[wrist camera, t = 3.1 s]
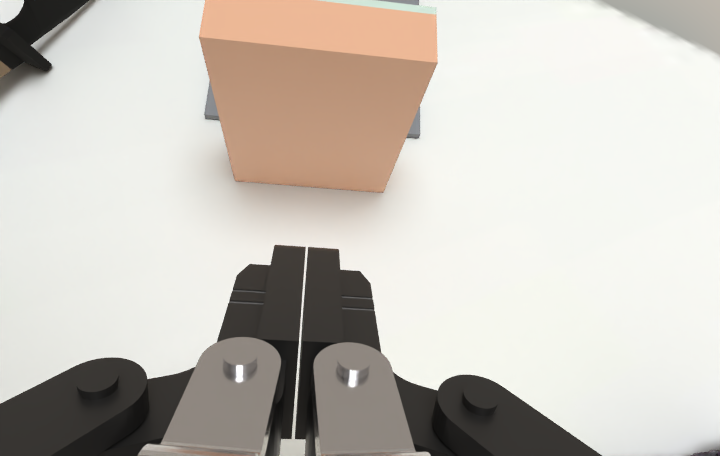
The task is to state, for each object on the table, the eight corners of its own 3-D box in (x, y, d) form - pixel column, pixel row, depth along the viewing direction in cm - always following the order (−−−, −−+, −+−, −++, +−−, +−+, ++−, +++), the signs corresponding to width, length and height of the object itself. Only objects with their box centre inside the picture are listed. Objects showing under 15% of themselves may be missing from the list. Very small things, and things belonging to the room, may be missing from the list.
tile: (235, 181, 34) (199, 36, 21) (240, 141, 35) (208, -21, 22) (383, 192, 35) (437, 62, 22) (383, 153, 36) (435, 7, 23)
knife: (-121, 199, 29) (-180, 158, 25) (-161, 171, 30) (-225, 126, 26) (219, -56, 43) (216, -109, 39) (190, -74, 43) (183, -128, 39)
